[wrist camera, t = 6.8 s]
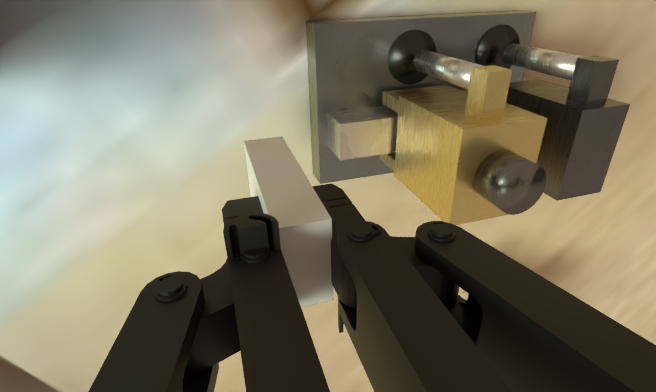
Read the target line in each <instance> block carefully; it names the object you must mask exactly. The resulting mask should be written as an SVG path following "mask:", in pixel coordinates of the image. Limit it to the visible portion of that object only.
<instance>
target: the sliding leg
mask: <svg viewBox="0 0 656 392" xmlns="http://www.w3.org/2000/svg"><path fill="white" fill-rule="evenodd" d="M413 64H414V67H415V69H416V70H417V71H419V72H422V73H425V74H427V75H430V76H433V77H435V78H438V79H441V80H443V81H446V82H449V83H451V84H454V85H457V86H459V87H462V88H465V89H460V90H458V89H456V88H453V87H451V86H448V85H442V86H432V87H422V88H412V89H402V90H392V91H383V98H382V104H384V105H386V106H387V107H389V108H391V109H392V110H394V111H395V112H397V113H398V123H397V139H396V153H389V154H382V155H380V159H381V160H382V161H383V162H384V163H385V164H386V165H387V166H389V167H390V168H391V169H392V170H393V171H394V176H395V177H396V178H397V179H399V180H400V181H401V182H402V183H403V184H404V185H405V186H406V187H407V188H408V189H409V190H410V191H411V192H413V193H414V194H415V195H416V196H417V197H418V198H419V199H420V200H421V201H422V202H423V203H424V204H425V205H426V206H428V207H429V208H430V209H431V210H432V211H433V212H434V213H435V214H436V215H437V216H438V217H439V218H440V219H442V220H443V221H444V222H447V223H451V224H454V225H458V224H463V223H468V222H473V221H478V220H483V219H488V218H493V217H498V216H503V215H508V214H511V215H514V214H519V213H522V212H524V211H526V210H528V209H529V208H530V207H532V206H533V205H534V204H535V203H536V202H537V201H538V199H539V198H540V197H541V195H542V193H543V191H544V189H545V186H546V173H545V171H544V169H543V168H542V167H541V166H540V165H538V164H536V163H537V159H538V155H539V151H540V147H541V142H542V138H543V134H544V130H545V126H546V122H547V118H546V117H543V116H540V115H537V114H535V113H532V112H529V111H527V110H524V109H521V108H519V107H516V106H513V105H510V104H508V103H506V100H507V95H508V89H509V84H510V79H511V74H512V70H511V69H507V68H503V67H499V66H495V65H491V66H482V65H479V64H475V63H472V62H468V61H464V60H461V59H457V58H453V57H450V56H446V55H442V54H439V53H435V52H431V51H428V50H421V51H419V52H418V53H417V54H416V56H415V58H414V62H413Z"/></svg>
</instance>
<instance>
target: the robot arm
mask: <svg viewBox="0 0 656 392" xmlns="http://www.w3.org/2000/svg"><path fill="white" fill-rule="evenodd" d="M244 146H245V154H246V162H247V169H248V177H249V185H250V193H251V197H249V198H243V199H236V200H230V201H227V202H226V204H225V206H224V207H223V209H222V213H223V221H224V230H223V233H224V239H225V245H226V250H227V256H228V258H227V260H226V262H225V264H224V265H223V266H222V267H221V268H220V269H219V270H217V271H216V272H215V273H213V274H211V275H209V276H207V277H204V278H202V279H199V278H198V276H196V275H194V274H192V273H190V272H173V273H167V274H165V275H162V276H160V277H157V278H155V279H154V280H153V281H151V282H150V283H148V284H147V285H146V286H145V287H144V289H143V290H142V291H141V293H140V294H139V296H138V298H137V300H136V302H135V304H134V306H133V308H132V310H131V312H130V314H129V315H128V317H127V319H126V321H125V323H124V325H123V327H122V329H121V331H120V333H119V335H118V337H117V338H116V340H115V342H114V344H113V346H112V348H111V350H110V352H109V354H108V356H107V358H106V359H105V361H104V363H103V365H102V367H101V369H100V371H99V373H98V375H97V377H96V379H95V380H94V382H93V384H92V386H91V388H90V390H89V392H214V388H215V383H216V379H217V374H218V369H219V362H220V361H222V360H224V359H226V358H228V357H229V356H231V355H233V354H235V353H237V352H239V351H240V350H241V357H242V364H243V371H244V378H245V385H246V392H330V390H329V388H328V385H327V382H326V379H325V376H324V373H323V370H322V367H321V364H320V361H319V359H318V356H317V353H316V350H315V347H314V344H313V341H312V338H311V335H310V332H309V329H308V327H307V324H306V321H305V318H304V315H303V312H302V309H301V307H305V306H309V305H314V304H318V303H322V302H327V301H331V300H333V286H334V288H335V291H336V293H337V295H338V327H339V333H341V332H343V324H345V327H346V329H347V331H348V333H349V336H350V338H351V340H352V342H353V345H354V347H355V349H356V351H357V354H358V356H359V358H360V360H361V362H362V365H363V367H364V369H365V371H366V374H367V376H368V378H369V380H370V383H371V385H372V387H373V389H374V392H656V345H654V344H653V343H651V342H649V341H648V340H646V339H644V338H643V337H641V336H639V335H638V334H636V333H634V332H633V331H631V330H629V329H628V328H626V327H624V326H623V325H621V324H619V323H618V322H616V321H614V320H613V319H611V318H609V317H608V316H606V315H604V314H603V313H601V312H599V311H598V310H596V309H595V308H593V307H591V306H590V305H588V304H586V303H585V302H583V301H581V300H580V299H578V298H576V297H575V296H573V295H571V294H570V293H568V292H566V291H565V290H563V289H561V288H560V287H558V286H556V285H555V284H553V283H551V282H550V281H548V280H546V279H545V278H543V277H541V276H540V275H538V274H536V273H535V272H533V271H531V270H530V269H528V268H526V267H525V266H523V265H522V264H520V263H518V262H517V261H515V260H513V259H512V258H510V257H508V256H507V255H505V254H503V253H502V252H500V251H498V250H497V249H495V248H493V247H492V246H490V245H488V244H487V243H485V242H483V241H482V240H480V239H478V238H477V237H475V236H473V235H472V234H470V233H468V232H467V231H465V230H463V229H462V228H460V227H458V226H456V225H454V224H451V223H447V222H443V221H431V222H427V223H424V224H422V225H420V226H419V227H418V228H417V230H416V237H392V236H389V234H388V233H387V232H386V231H385V229H383V228H382V227H381V226H380V225H378V224H375V223H373V222H367V221H365V220H364V218H363V217H362V216H361V214H360V213H359V211H358V210H357V209H356V207H355V206H354V205H353V204H352V202H351V201H350V199H349V198H348V197H347V195H346V194H345V193H344V191H343V190H342V189H341V188H339V187H337V186H335V185H333V184H326V185H319V186H313V187H312V185H311V184H310V182H309V180H308V179H307V177H306V175H305V174H304V172H303V170H302V169H301V167H300V165H299V164H298V162H297V160H296V159H295V157H294V155H293V154H292V152H291V150H290V149H289V147H288V145H287V144H286V142H285V140H284V139H283V137H274V138H265V139H257V140H249V141H244ZM459 287H461V288H462V289H463V290H465V291H466V292H467V293H469V294H468V299H467V300H465V299H464V298H462V297H461V296H459V295H458V291H459Z"/></svg>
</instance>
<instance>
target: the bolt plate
mask: <svg viewBox="0 0 656 392" xmlns="http://www.w3.org/2000/svg"><path fill="white" fill-rule="evenodd" d="M535 14H536V12H526V11H500V12H480V13H460V14H440V15H420V16H400V17H380V18H360V19H340V20H320V21H306V28H307V51H308V73H309V96H310V119H311V142H312V164H313V174H314V175H315V177H316V178H317V180H318V181H319V183H320V184H322V183H328V182H335V181H341V180H347V179H354V178H360V177H367V176H373V175H379V174H386V173H392V172H394V171H393V170H392V169H391V168H390V167H389V166H387V165H386V164H385V163H384V162H383V161H382V160H381V159H380V155H382V154H389V153H396V139H397V123H398V113H397V112H395V111H394V110H392V109H391V108H389V107H387V106H386V105H384V104H382V98H383V91H392V90H402V89H412V88H422V87H432V86H442V85H448V86H451V87H453V88H456V89H458V90H460V89H465V88H462V87H459V86H457V85H454V84H451V83H449V82H446V81H443V80H441V79H438V78H435V77H433V76H430V75H427V74H425V73H422V72H419V71H417V70H416V69H415V67H414V64H413V62H414V58H415V56H416V54H417V53H418V52H419V51H421V50H428V51H431V52H435V53H439V54H442V55H446V56H450V57H453V58H457V59H461V60H464V61H468V62H472V63H475V64H479V65H482V66H491V65H495V66H499V67H503V68H507V69H511V70H512V74H511V79H510V84H509V89H508V95H507V100H506V103H508V104H510V105H513V106H516V107H519V108H521V109H524V110H527V111H529V112H532V113H535V114H537V115H540V116H543V117H546V118H547V122H546V126H545V130H544V134H543V138H542V142H541V147H540V151H539V155H538V159H537V163H536V164H538V165H540V166H541V167H542V168H543V169H544V171H545V173H546V186H545V189H544V191H543V192H544V193H545V194H547V195H549V196H550V197H552V198H554V199H555V200H562V199H567V198H572V197H577V196H582V195H587V194H592V193H597V192H600V191H601V188H602V185H603V182H604V179H605V176H606V173H607V171H608V168H609V165H610V162H611V159H612V156H613V153H614V150H615V147H616V144H617V141H618V138H619V135H620V132H621V129H622V126H623V123H624V120H625V118H626V115H627V112H628V109H629V106H630V104H627V103H623V102H619V101H616V100H612V99H608V98H607V97H608V93H609V90H610V87H611V84H612V80H613V77H614V74H615V71H616V68H617V64H618V61H619V60H616V59H611V58H605V57H599V56H592V57H586V56H580V55H575V54H569V53H564V52H558V51H552V50H547V49H541V48H536V47H530V46H529V44H530V39H531V34H532V29H533V24H534V19H535ZM524 68H525V69H529V70H533V71H537V72H541V73H545V74H549V75H553V76H557V77H561V78H565V79H569V80H571V84H570V88H567V87H564V86H560V85H556V84H553V83H549V82H545V81H541V80H531V81H522V78H523V73H524Z"/></svg>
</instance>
